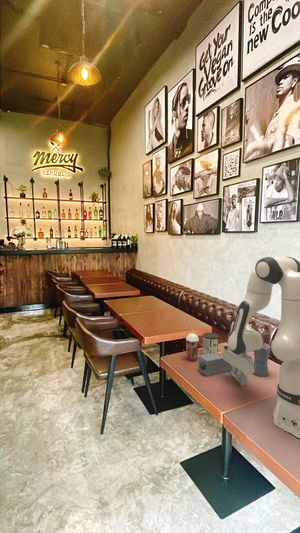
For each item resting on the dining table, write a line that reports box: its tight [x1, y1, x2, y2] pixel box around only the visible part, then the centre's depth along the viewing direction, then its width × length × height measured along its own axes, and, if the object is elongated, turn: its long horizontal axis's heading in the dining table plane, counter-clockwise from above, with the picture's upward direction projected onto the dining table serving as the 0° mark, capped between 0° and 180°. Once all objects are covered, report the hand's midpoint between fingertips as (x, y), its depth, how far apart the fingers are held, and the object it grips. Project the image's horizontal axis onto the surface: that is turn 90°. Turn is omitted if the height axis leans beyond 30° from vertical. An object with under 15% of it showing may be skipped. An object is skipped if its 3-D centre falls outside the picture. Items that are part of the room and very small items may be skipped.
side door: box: [229, 364, 249, 387], centre depth 150 cm, size 2×21×8 cm, turn 7°
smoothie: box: [185, 328, 200, 362], centre depth 175 cm, size 8×8×20 cm
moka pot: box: [252, 342, 272, 378], centre depth 159 cm, size 10×15×20 cm, turn 11°
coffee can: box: [201, 332, 220, 355], centre depth 183 cm, size 10×10×14 cm
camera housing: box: [197, 351, 230, 377], centre depth 161 cm, size 8×17×10 cm, turn 114°
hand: (236, 375), depth 146 cm, fingers closed
